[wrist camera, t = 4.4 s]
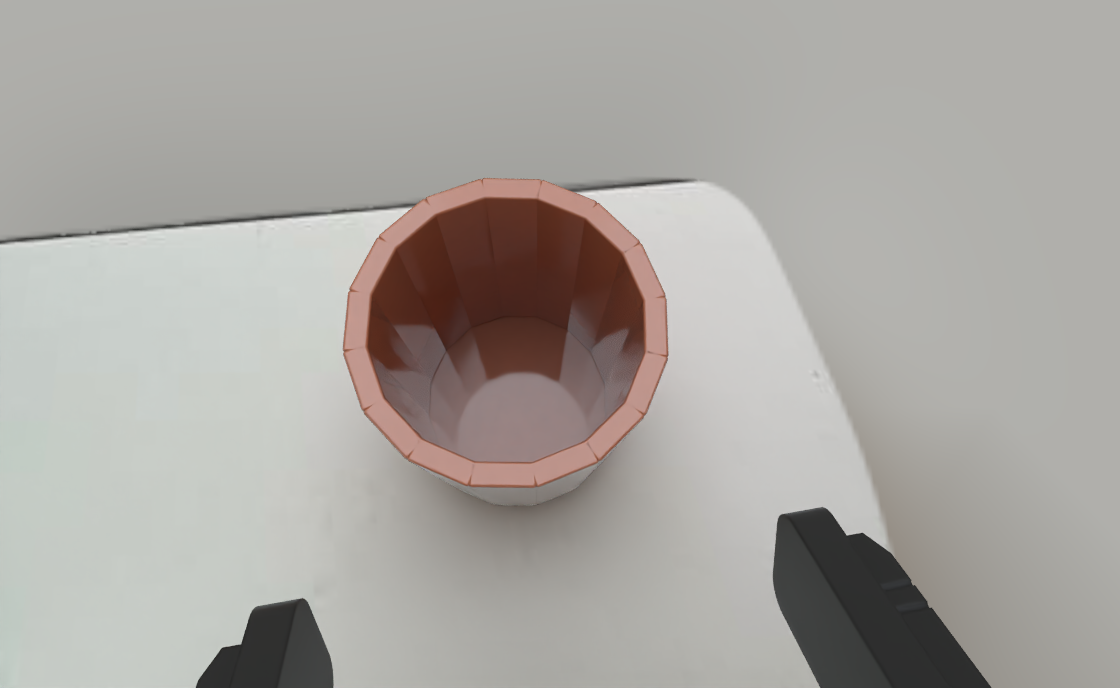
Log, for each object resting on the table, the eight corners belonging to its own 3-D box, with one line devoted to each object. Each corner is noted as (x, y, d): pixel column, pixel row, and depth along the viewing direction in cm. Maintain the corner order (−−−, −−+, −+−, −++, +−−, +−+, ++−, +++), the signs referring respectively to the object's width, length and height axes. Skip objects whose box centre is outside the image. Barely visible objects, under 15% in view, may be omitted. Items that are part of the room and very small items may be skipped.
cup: (616, 310, 24) (662, 181, 15) (618, 506, 22) (673, 489, 13) (423, 306, 24) (358, 173, 15) (411, 504, 22) (328, 485, 13)
